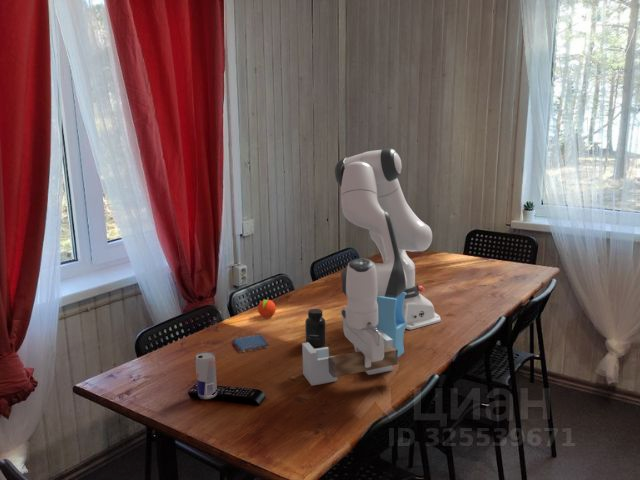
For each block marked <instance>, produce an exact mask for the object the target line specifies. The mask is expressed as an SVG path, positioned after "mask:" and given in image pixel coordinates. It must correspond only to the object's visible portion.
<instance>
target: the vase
mask: <svg viewBox="0 0 640 480" xmlns="http://www.w3.org/2000/svg"><path fill="white" fill-rule="evenodd" d="M405 295H406V293H405V292H403V293H402V294H401V295H399V296H398V297H396V298H393V297H385V296H377V303H378V325H376V326H375V327H376V328H377V329H378V331H380V330H381V331H383V332H384V333H385V334H386V335H388V336H389V337H390V338H391V339H393V346H394V347H395V348H396V349H397V350H398V358H399V357H401V356H402V355H403V354H404V353H405V348H404V334H405V332H406V329H405V327H406V321H405V318H404V315H403V302H404V298H405Z"/></svg>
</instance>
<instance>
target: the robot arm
mask: <svg viewBox="0 0 640 480" xmlns="http://www.w3.org/2000/svg"><path fill="white" fill-rule="evenodd" d="M402 167H403V166H402V160H401V157H400V155H399V152H398V151H396V150H395V149H394V148H382V149H377V150H376V149H375V150H369V151H364V152H361V153H359V154H355V155H352V156H349V157H343V158H342V159H340V160H338V161H337V163H336V165H335V167H334V176H335V180H336V182H337V185H338V186H339V187H340V188H341V190H340V197H341V198H340V201H341V202H340V204H341V212H342V214H343V216H344V218H345V219H346V220H347V221H349V222H350V223H351V224H353V225H355V226H357V227H360V228H362V229H366V230H368V231H369V236H370V239H371V240H372V242H374V243H375V245H376V246H377V248H378V250H379V252H380V255H381V258H382V263H381V262H380V263H379V262H378V263H377V262H376V263H375V262H374V261H373V260H371V259H369V258H364V257H363V258H360V257H359V258H355V259H352V260H350V261H349V262H348V263H347V266H346V267H345V268H344V269H343V270H342V272H341V287H342V288H341V292H342V293H343V294H344V295H345V296H346V298H347V303H346V307H343V308H341V309H340V314H341V316H342V329H343V330H342V331H343V334H344V336H345V338H346V339H347V340H348V341H349V342H351V344H352V345H353V348H354V351H355V352H360V351H361V352H362V353H363V354H364V356H365V360H363V365H364V366H365V367H366V368H368V367H371V361H372V362H375V361H380V360H383V358H384V345H383V338H382V335H381V333H380V332H379V331H378V329H377V328H376V327H375V326H376V325H378V303H377V296H385V297H393V298H396V297H398V296H399V295H401V294H402V293H403V292H405V293H406V295H405V298H404V302H403V315H404V318H405V321H406V327H405V330H409V331H411V330H414V329H419V328H422V327H426V326H430V325H433V324H438V323H440V322H441V316H440V315H439V314H438V313H436V312H435V307H434V305H433V303H432V301H430V300H429V299H427V298H426V297H425V296H423V295H422V294H421V293H424V291H425V287H423V286H422V285H419V284H417V283H416V281H415V280H416V266H415V263H414V261H413V260H412V259H411V258H410V257H409V255H408V254H407V251H408V252H425V251H426V250H427V249H428V248H429V247H430V245H431V244H432V241H433V231H432V229H431V227H430V226H429V225H428V224H426V223H425V222H424V221H422V220H421V219H420V218H419V217H418V216H417V214H416V213H415V212H413V210H412V208H411V207H410V206H409V204H408V202H407V200H406V198H405V196H404V195H405V194H404V193H403V190H402V187H401V184H400V181H399V179H398V178H399V177H400V176H401V174H402ZM355 352H354V353H355Z"/></svg>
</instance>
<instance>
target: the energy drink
mask: <svg viewBox="0 0 640 480" xmlns="http://www.w3.org/2000/svg"><path fill="white" fill-rule="evenodd" d="M194 360H195V361H194V362H195V372H196V384H197V385H196V386H197V396H198V397H199V398H200V399H202V400H211V399H214V398H215V397H216V396H217V395H218V385H217V383H218V381H217V369H216V357H215V354H214V353H213V352H211V351H202V352H200V353H197V354H196V355H195V359H194ZM216 390H217V392H216V393H215V394H214V395H212V394H213V393H214V392H215V391H216Z"/></svg>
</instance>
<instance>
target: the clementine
mask: <svg viewBox="0 0 640 480" xmlns="http://www.w3.org/2000/svg"><path fill="white" fill-rule="evenodd" d="M276 308H277V307H276V305H275V303H274V302H273V301H272V300H271V299H263V300H261V301H260V302H259V303H258V306H257V311H258V312H257V313H258V314H259V315H260V316H261V317H263V318H271V317H272V316H274V315H275V314H276V310H277V309H276Z"/></svg>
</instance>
